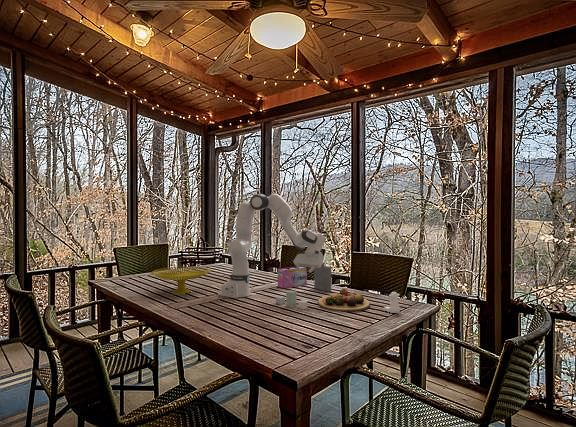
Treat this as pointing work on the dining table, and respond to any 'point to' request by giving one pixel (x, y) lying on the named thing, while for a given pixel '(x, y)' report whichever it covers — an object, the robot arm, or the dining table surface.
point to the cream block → (302, 304)
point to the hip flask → (322, 278)
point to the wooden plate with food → (344, 302)
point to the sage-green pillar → (291, 298)
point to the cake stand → (180, 276)
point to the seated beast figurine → (393, 304)
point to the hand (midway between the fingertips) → (303, 271)
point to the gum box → (292, 277)
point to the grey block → (280, 300)
